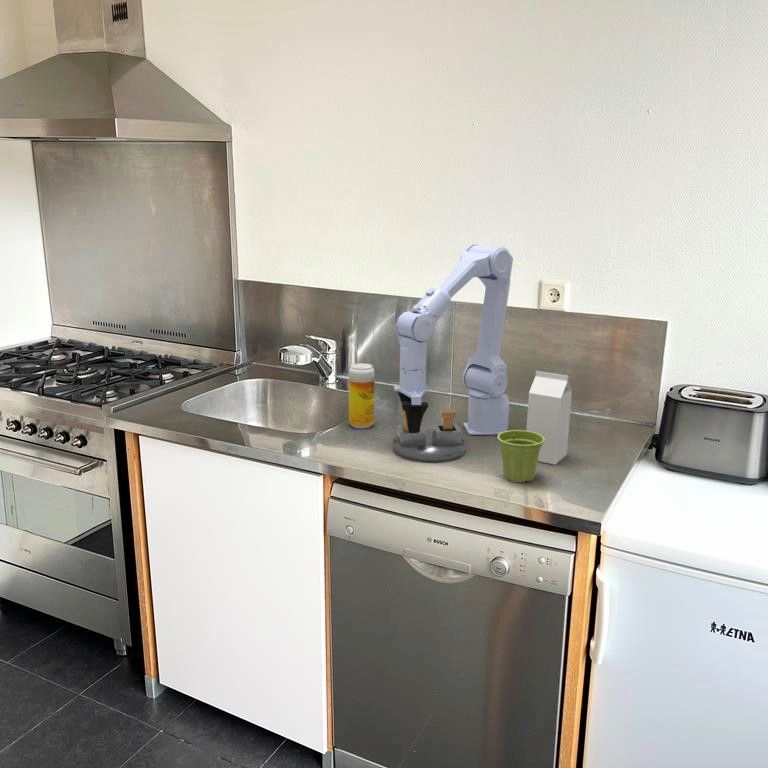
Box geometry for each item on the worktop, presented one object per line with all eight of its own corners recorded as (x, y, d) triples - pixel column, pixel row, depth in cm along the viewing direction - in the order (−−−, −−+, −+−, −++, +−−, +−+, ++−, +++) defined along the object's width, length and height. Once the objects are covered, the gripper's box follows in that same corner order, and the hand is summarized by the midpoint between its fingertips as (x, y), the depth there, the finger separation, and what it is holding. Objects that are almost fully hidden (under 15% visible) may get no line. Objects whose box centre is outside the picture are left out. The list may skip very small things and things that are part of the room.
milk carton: (555, 465, 163) (562, 379, 158) (524, 458, 166) (529, 374, 161) (566, 455, 168) (573, 372, 163) (536, 449, 172) (542, 367, 167)
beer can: (370, 430, 183) (371, 369, 179) (346, 428, 185) (346, 368, 181) (376, 422, 189) (376, 363, 185) (352, 420, 190) (352, 362, 186)
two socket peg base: (457, 437, 179) (459, 400, 177) (471, 462, 164) (472, 422, 161) (389, 438, 178) (390, 401, 175) (396, 463, 162) (397, 423, 160)
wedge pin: (415, 439, 171) (416, 410, 169) (416, 443, 169) (417, 413, 167) (401, 440, 171) (401, 410, 169) (402, 443, 169) (402, 413, 167)
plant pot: (489, 481, 154) (491, 440, 151) (502, 466, 162) (504, 427, 160) (535, 489, 150) (538, 447, 148) (546, 473, 158) (549, 433, 156)
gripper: (391, 359, 172) (390, 417, 176) (398, 376, 158) (397, 438, 162) (422, 359, 173) (420, 416, 176) (431, 375, 159) (430, 437, 162)
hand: (411, 427), depth 169 cm, fingers open, 7 cm apart
